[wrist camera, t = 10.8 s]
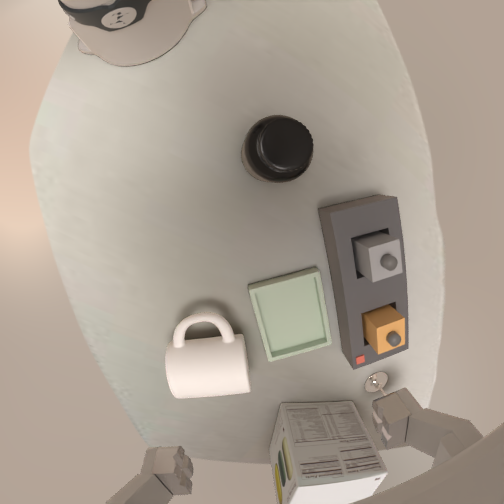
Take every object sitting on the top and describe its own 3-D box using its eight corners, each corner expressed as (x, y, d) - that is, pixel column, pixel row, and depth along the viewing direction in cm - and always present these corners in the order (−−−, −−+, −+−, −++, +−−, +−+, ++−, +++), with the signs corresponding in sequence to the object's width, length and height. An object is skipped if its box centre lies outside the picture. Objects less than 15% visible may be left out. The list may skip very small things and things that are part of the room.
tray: (247, 284, 39) (248, 290, 38) (315, 266, 39) (319, 271, 38) (267, 354, 42) (268, 361, 40) (327, 337, 42) (331, 344, 40)
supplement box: (279, 401, 44) (298, 486, 27) (353, 399, 46) (390, 471, 29) (267, 450, 47) (278, 525, 30) (333, 446, 49) (357, 514, 32)
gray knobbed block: (345, 236, 37) (373, 250, 29) (372, 228, 37) (404, 241, 29) (350, 265, 38) (377, 285, 30) (376, 257, 38) (407, 275, 30)
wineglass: (355, 383, 45) (382, 431, 33) (383, 362, 44) (416, 406, 33) (369, 399, 46) (395, 444, 34) (395, 380, 45) (426, 421, 34)
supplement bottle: (239, 181, 36) (243, 181, 25) (242, 127, 35) (246, 102, 23) (295, 183, 37) (323, 185, 25) (297, 130, 35) (325, 109, 24)
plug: (355, 305, 40) (380, 332, 32) (380, 297, 40) (409, 321, 32) (358, 330, 41) (381, 359, 33) (382, 321, 41) (409, 348, 33)
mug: (249, 369, 43) (252, 404, 35) (184, 376, 42) (177, 410, 35) (237, 296, 40) (239, 323, 32) (165, 305, 40) (151, 332, 32)
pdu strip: (317, 208, 38) (330, 213, 33) (378, 194, 38) (398, 197, 33) (342, 351, 43) (353, 370, 38) (393, 333, 43) (409, 349, 38)
